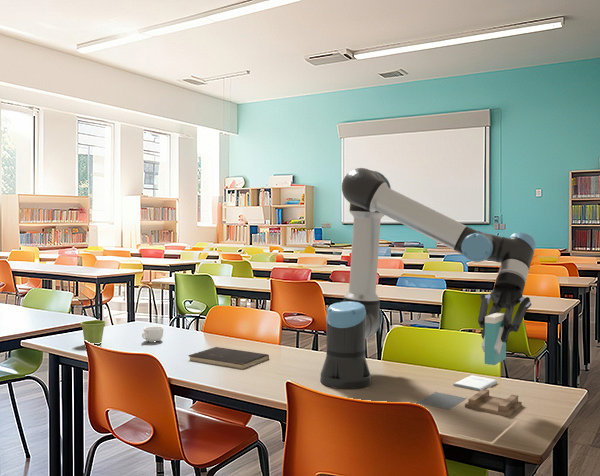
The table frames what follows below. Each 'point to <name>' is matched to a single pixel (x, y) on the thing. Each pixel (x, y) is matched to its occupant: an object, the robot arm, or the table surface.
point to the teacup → (153, 333)
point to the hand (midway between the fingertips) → (490, 350)
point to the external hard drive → (475, 383)
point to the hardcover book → (229, 357)
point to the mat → (441, 400)
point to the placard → (493, 338)
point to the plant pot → (93, 330)
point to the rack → (493, 403)
